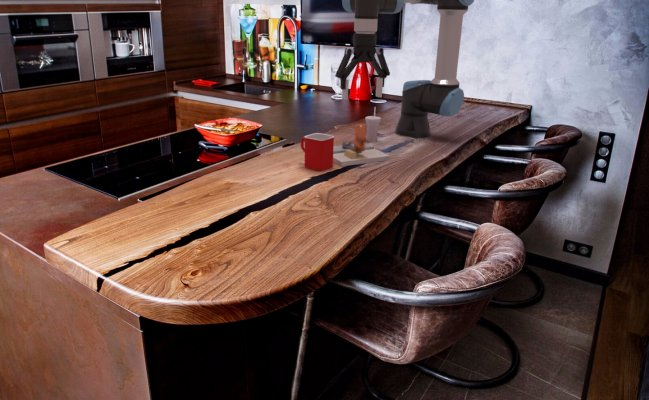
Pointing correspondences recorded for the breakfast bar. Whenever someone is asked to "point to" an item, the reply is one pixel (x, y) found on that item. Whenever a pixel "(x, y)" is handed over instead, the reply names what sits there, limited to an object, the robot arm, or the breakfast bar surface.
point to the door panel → (359, 157)
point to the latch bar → (357, 139)
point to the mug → (318, 151)
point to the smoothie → (372, 127)
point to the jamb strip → (341, 150)
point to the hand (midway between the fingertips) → (362, 98)
